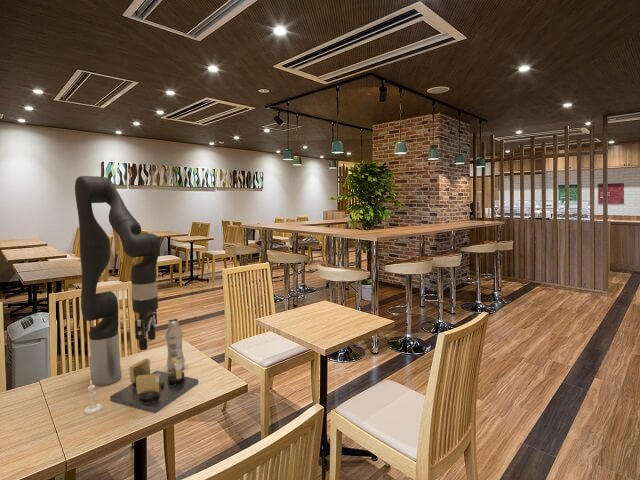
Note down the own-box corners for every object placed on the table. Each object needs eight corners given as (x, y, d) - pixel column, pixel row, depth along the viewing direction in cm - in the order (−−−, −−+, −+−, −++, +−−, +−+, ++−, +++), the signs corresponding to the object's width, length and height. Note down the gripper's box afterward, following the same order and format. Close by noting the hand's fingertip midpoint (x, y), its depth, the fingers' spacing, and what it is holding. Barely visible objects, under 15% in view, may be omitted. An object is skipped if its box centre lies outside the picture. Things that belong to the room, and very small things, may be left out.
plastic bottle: (179, 373, 143) (176, 323, 140) (163, 372, 144) (160, 322, 142) (188, 366, 149) (185, 318, 147) (173, 364, 150) (170, 317, 148)
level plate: (109, 400, 124) (108, 392, 124) (155, 374, 143) (155, 367, 142) (155, 412, 116) (155, 404, 116) (198, 383, 135) (198, 376, 135)
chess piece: (83, 416, 115) (80, 385, 114) (85, 408, 119) (82, 379, 118) (101, 411, 117) (99, 382, 116) (102, 404, 122) (100, 375, 121)
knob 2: (135, 402, 119) (133, 380, 118) (141, 393, 125) (139, 372, 124) (158, 400, 120) (157, 378, 119) (163, 392, 126) (162, 371, 125)
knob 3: (165, 379, 135) (164, 359, 134) (181, 374, 138) (180, 355, 137) (171, 386, 129) (170, 366, 128) (187, 381, 132) (186, 361, 132)
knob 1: (138, 389, 128) (137, 368, 127) (126, 386, 130) (125, 366, 129) (155, 379, 134) (153, 360, 133) (143, 377, 136) (142, 357, 135)
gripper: (140, 290, 125) (142, 336, 127) (124, 302, 111) (127, 354, 113) (163, 289, 126) (165, 335, 128) (150, 301, 112) (153, 352, 114)
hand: (147, 344), depth 121 cm, fingers open, 8 cm apart
